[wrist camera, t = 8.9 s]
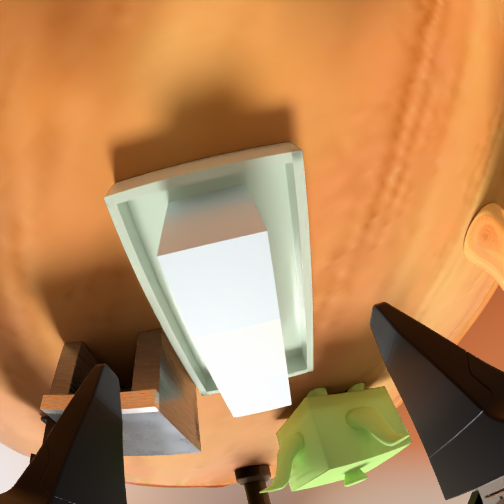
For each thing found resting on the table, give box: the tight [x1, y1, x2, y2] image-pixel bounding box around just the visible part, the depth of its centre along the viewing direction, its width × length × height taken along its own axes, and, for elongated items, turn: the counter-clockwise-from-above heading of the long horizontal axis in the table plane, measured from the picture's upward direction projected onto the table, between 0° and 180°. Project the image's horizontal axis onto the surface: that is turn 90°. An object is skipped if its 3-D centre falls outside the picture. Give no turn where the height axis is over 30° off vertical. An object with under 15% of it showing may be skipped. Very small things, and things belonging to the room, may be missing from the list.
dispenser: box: [40, 329, 201, 456], centre depth 18 cm, size 9×9×7 cm
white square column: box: [157, 184, 292, 418], centre depth 16 cm, size 14×4×5 cm, turn 9°
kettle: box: [259, 383, 412, 493], centre depth 26 cm, size 15×14×11 cm
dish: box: [104, 142, 313, 396], centre depth 18 cm, size 17×9×2 cm, turn 9°
